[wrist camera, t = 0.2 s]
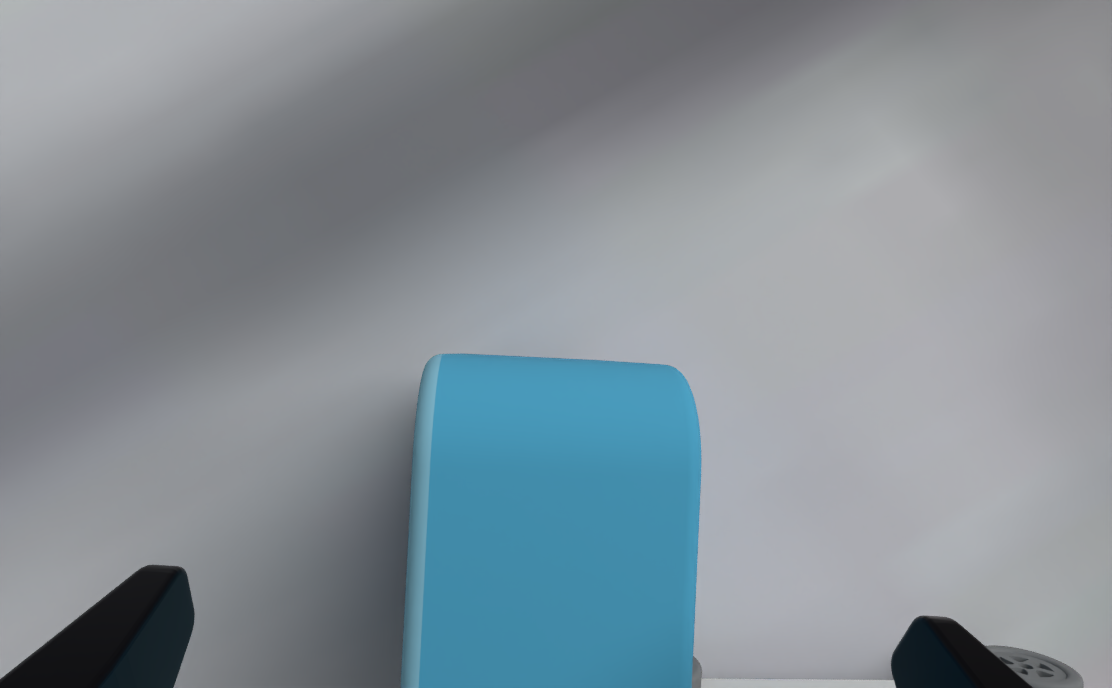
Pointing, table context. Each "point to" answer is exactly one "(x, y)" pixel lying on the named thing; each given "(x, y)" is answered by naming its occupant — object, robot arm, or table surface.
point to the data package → (552, 525)
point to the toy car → (1046, 675)
